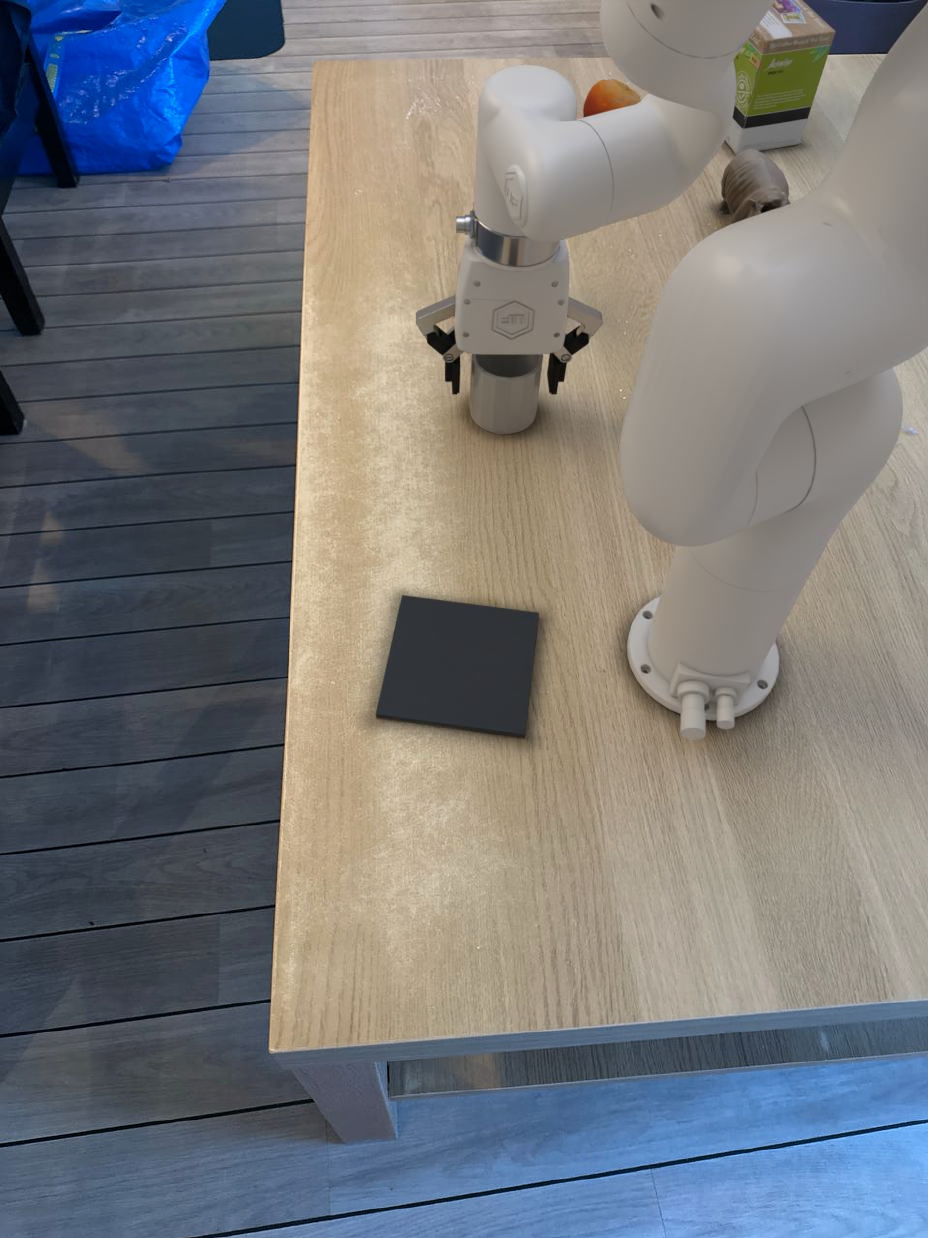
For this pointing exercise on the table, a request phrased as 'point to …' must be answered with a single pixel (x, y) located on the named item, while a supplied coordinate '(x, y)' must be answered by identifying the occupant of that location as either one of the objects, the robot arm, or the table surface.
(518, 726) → the slate mat
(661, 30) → the robot arm
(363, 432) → the table surface
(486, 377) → the steel pot
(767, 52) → the tea box
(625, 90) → the fruit
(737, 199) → the rhinoceros figurine
